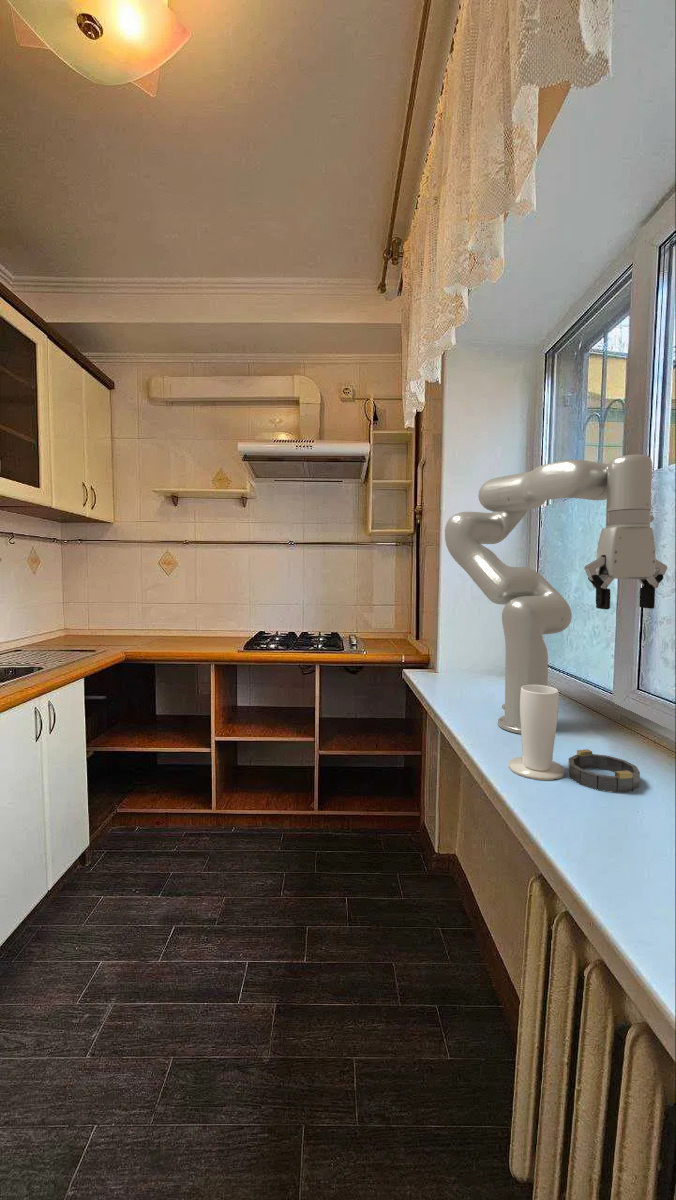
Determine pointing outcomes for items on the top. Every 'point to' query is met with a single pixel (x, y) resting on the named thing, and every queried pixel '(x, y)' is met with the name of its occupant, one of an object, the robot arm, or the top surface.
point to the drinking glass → (538, 725)
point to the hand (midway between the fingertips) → (624, 608)
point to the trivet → (551, 774)
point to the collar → (622, 782)
